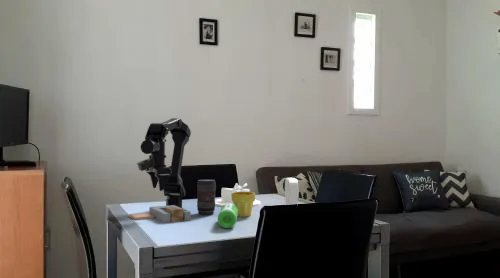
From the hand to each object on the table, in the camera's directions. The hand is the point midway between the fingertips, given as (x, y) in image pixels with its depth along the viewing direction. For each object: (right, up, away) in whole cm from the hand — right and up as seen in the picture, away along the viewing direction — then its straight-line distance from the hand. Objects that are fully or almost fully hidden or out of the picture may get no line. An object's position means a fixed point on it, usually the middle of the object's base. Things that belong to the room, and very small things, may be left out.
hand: (157, 189), depth 193 cm
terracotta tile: (-6, -11, -3) cm, 13 cm away
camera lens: (+20, -12, +7) cm, 24 cm away
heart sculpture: (+56, -13, -9) cm, 58 cm away
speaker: (+31, -13, -14) cm, 36 cm away
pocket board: (+5, -12, -3) cm, 13 cm away
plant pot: (+36, -12, +6) cm, 39 cm away
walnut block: (+8, -12, -7) cm, 16 cm away
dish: (+32, -12, +37) cm, 51 cm away
